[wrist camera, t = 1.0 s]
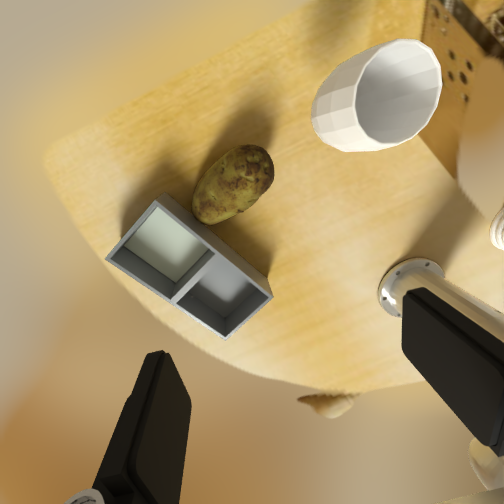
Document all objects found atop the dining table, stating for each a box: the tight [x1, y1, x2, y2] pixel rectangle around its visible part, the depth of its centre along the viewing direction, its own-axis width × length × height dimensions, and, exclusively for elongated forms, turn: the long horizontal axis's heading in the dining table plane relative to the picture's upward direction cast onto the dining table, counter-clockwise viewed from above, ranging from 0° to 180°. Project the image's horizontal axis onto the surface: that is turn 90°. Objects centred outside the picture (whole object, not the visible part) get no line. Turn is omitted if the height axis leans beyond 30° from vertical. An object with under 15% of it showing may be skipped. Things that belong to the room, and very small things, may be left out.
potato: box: [192, 145, 274, 225], centre depth 34 cm, size 8×13×8 cm, turn 113°
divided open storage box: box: [105, 192, 273, 341], centre depth 40 cm, size 22×11×6 cm, turn 45°
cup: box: [311, 39, 442, 152], centre depth 26 cm, size 7×7×21 cm
